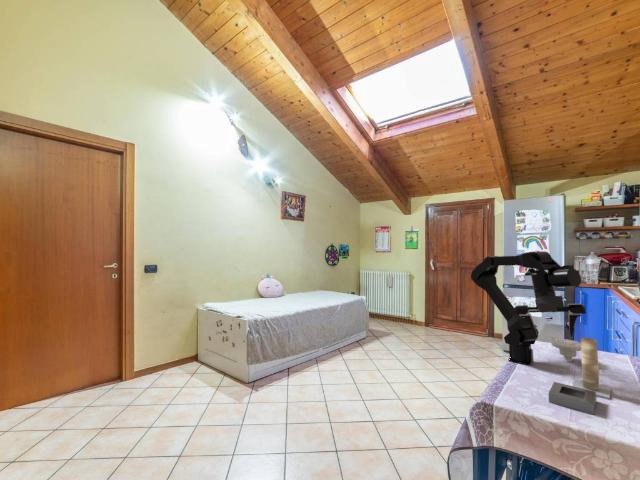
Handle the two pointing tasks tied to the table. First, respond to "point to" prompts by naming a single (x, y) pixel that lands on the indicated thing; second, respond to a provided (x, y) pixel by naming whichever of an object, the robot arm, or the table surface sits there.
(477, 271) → the robot arm
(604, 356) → the table surface
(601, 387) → the mat
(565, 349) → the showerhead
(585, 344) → the peg
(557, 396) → the eye block
